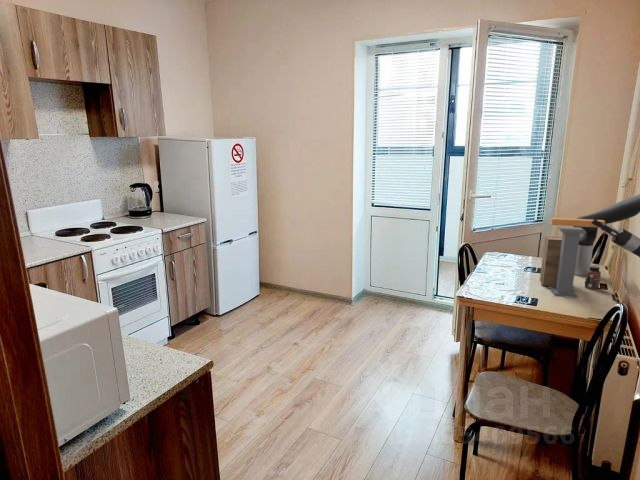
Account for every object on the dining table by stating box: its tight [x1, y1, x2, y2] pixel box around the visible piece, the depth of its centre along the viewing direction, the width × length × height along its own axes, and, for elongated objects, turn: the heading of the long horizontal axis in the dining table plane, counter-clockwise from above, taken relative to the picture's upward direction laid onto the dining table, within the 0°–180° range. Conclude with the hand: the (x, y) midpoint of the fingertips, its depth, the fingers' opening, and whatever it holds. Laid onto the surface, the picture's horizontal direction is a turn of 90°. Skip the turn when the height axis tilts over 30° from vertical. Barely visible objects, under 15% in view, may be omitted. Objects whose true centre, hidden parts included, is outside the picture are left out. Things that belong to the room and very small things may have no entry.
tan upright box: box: [539, 234, 562, 288], centre depth 221 cm, size 10×12×25 cm
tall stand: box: [549, 225, 586, 298], centre depth 208 cm, size 10×10×32 cm
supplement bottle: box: [584, 265, 602, 290], centre depth 217 cm, size 6×6×11 cm
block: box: [550, 217, 605, 228], centre depth 203 cm, size 3×22×3 cm, turn 72°
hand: (592, 220), depth 200 cm, fingers closed on block, 3 cm apart
